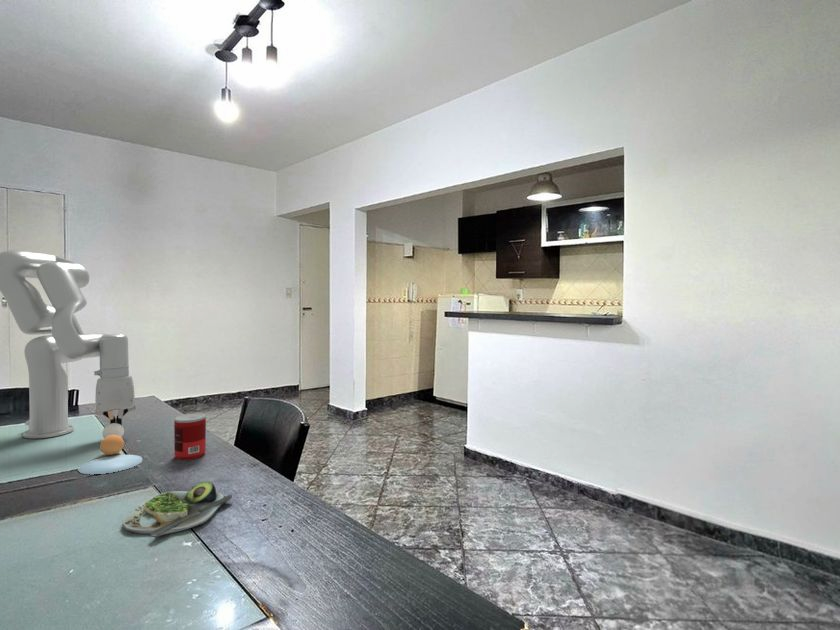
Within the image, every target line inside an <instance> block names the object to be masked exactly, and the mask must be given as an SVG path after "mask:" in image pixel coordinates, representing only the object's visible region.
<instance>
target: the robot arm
mask: <svg viewBox="0 0 840 630" xmlns="http://www.w3.org/2000/svg"><path fill="white" fill-rule="evenodd" d="M26 278H29V279H30V278H31V279H38V280H39V283H40V285H41V287H42V289H43V290H44V292H45V294H46V297H47V298H48V300H49V301H50V303H51V304H49V305H48V304H46V302H45V301H44V300H43V298H42V295H41V294H40V292H39V290H38V289H37V288H36V286H34V285H33V284H32V283H30V281H28V280H27V279H26ZM89 282H90V274H89V271H88V270H87V269H86V268H85V267H84V266H83V265H82V264H80V263H77V262H74V261H73V260H69V259H66V258H63V257H60V256H58V255H55V254H51V253H43V252H35V251H27V250H15V249H14V250H5V251H1V252H0V293H1V295H2V297H4V299H5V302H6V303H7V305H8V308H9V310H10V312H11V314H12V316H13V318H14V320H15V322H16V323H15V324H16V325H17V326H18V328H19V330H20V331H21V332H22V333H23V334H25V335H30V336H31V335H32V336H36V335H38V336H37V337H34V338H32V339H31V340H29V341H28V342H27V343H26V344H25V347H24V357H25V358H24V359H25V361H26V365H27V370H28V387H29V389H28V390H29V391H28V392H29V393H28V395H29V403H28V404H29V419H28V420H26V421H25V423H24V425H25V426H28V429H27V430H25V431H24V432H23V433H22V437H23V438H25V439H32V440H33V439H45V438H53V437H58V436H62V435H66V434H69V433H71V432H73V431H74V429H75V426H74V425H72V424H69V416H68V415H69V409H68V407H69V402H68V400H69V395H68V394H69V393H68V392H69V391H68V389H69V388H68V387H69V386H68V383H69V382H68V374H67V372H66V371H65V369H64V367H63V365H62V364H66V363H67V364H68V363H74V362H77V361H81V360H83V359H88V358H89V359H90V358H97V357H99V369H98V370H94V373H93V375H94V376H99V378H97V380H96V385H95V397H94V398H95V401H94V402H95V404H94V405H95V411H94V415H97V416H105V417H106V418H107V419H109V424H112V423H117V424H120V425H121V426H122V427H123V424H122V423H123V420H122V419H123V417H124V416H125V415H127V413H130V412H132V411H135V410H136V409H137V407H136V405H135V403H136V397H135V386H134V379H133V376H132V375H129V374H130V371H129V370H130V369H129V366H130V365H129V339H128V336H127V334H123V333H112V334H109V333H108V334H107V333H102V332H100V333H98V332H97V333H96V332H95V333H84V332H83V329H82V327H81V326H80V323H79V321H78V319H77V317H76V315H75V313H78V312H79V311H81V310H83V309H84V308H85V307H86V306H87V304H88V303H87V300H86V298H85V295H84V293H83V292H82V290H81V289H83V288H84V287H86V286H87V285H88V284H89ZM39 335H42V336H39ZM114 411H118V413H117V415H116V416H115V415H114Z"/></svg>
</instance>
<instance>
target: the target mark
mask: <svg viewBox="0 0 840 630" xmlns="http://www.w3.org/2000/svg"><path fill="white" fill-rule="evenodd" d="M142 462H143V457H142V456H140V455H136V454H119V455H118V454H117V455H116V454H115V455H108V456H104V457H100V458H97V459H93V460H90V461H87V462H85V463H83V464H82V465H80V466H79V467H78V469H77V471H79V472H80V474H82V475H86V474H87V475H89V474H90V475H89V476H95V475H94V474H101V475H107V474H106V473H109V474H114V473H113V472H115V473H119V472H123V471H126V469H127V470H129V468H130V469H132V468H134V466H135V467H137V466H139V465H140V464H142ZM138 464H139V465H138ZM136 465H137V466H136ZM122 470H123V471H122ZM118 471H119V472H118ZM79 472H78V473H79ZM87 475H86V476H87Z"/></svg>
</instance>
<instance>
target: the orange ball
mask: <svg viewBox="0 0 840 630" xmlns="http://www.w3.org/2000/svg"><path fill="white" fill-rule="evenodd" d="M124 445H125V442H124V439H123V437H120V436H118V435H110V436H107V437H105V438H103V439H101V442H100V445H99V447H100V451H101V452H102V454H104V455H107V456H115V455H116V454H117V455H118V454H119V453H120V451H122V450H123V448H124Z"/></svg>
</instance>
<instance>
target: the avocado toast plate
mask: <svg viewBox="0 0 840 630" xmlns="http://www.w3.org/2000/svg"><path fill="white" fill-rule="evenodd" d="M232 498H233V494H228V495H224V494H223V492H222V493H221V492H220V491H217V490H216V486H215V485H214V484H213V482H210V481H202V482H199V483H196V484H195V485H193V486H192V489H190V490H189V491H183V490H179V491H178V490H176V491H175V490H174V491H167V492H162V493H158V494H156V495H153V496H151V497H149V498H147V499H146V500H144V501H143V502H142V503H140V504H139V506H137V507H136V508H135V509H134V510H133V511H131V512H129V514H127V516H125V517H124V518H123V520H122V524H121V526H122V527H123V528H124V529H125V530H127V531H128V532H131V533H133V532H134V534H137V533H138V534H139V535H149V536H150V537H152V538H155V537H156V538H157V537H160V536H163V535H169V533H170V534H174V533H177V532H180V531H181V532H182V531H185V530H188V529H191V528H195V527H198V526H200V525H203V524H204V523H205V522H207V521H208V520H209V519H210V518H211V517H212V516H213V515H214V514H215V513H216V512H217V511H218V509H219V508H221V507H222V506H223V505H225V504H226V503H227V502H228V501H230V500H231V499H232ZM146 514H149V515H150V516H153V518H154V519H155V521H156V522H157V525H152V526H151V525H150V526H142V525H141V524H140V521H141V519H142V517H143V516H144V515H146Z"/></svg>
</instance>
